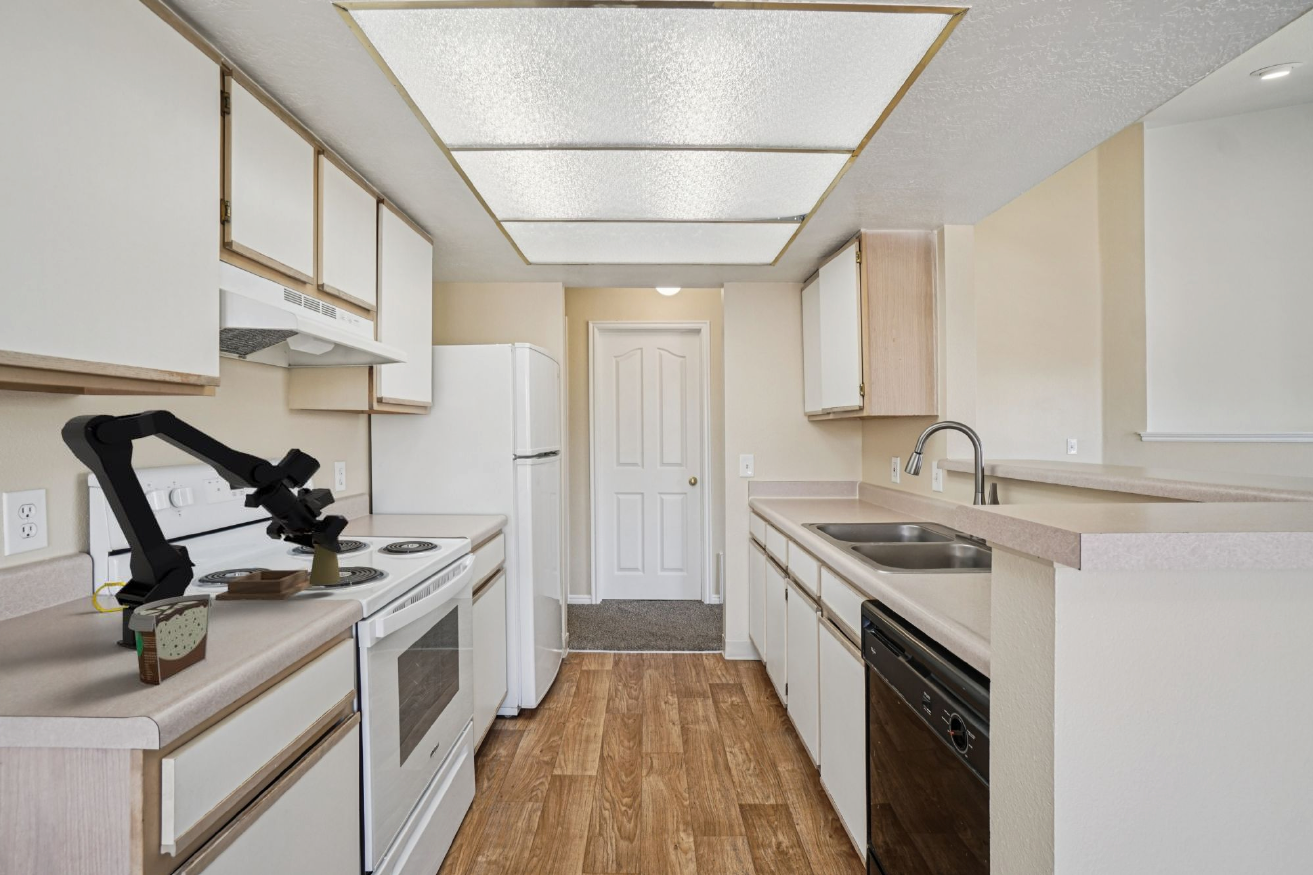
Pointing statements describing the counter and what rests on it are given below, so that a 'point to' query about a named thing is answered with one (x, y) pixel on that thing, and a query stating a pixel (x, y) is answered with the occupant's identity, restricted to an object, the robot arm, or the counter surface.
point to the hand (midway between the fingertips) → (331, 550)
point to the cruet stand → (266, 585)
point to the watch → (108, 583)
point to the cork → (324, 566)
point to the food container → (171, 636)
